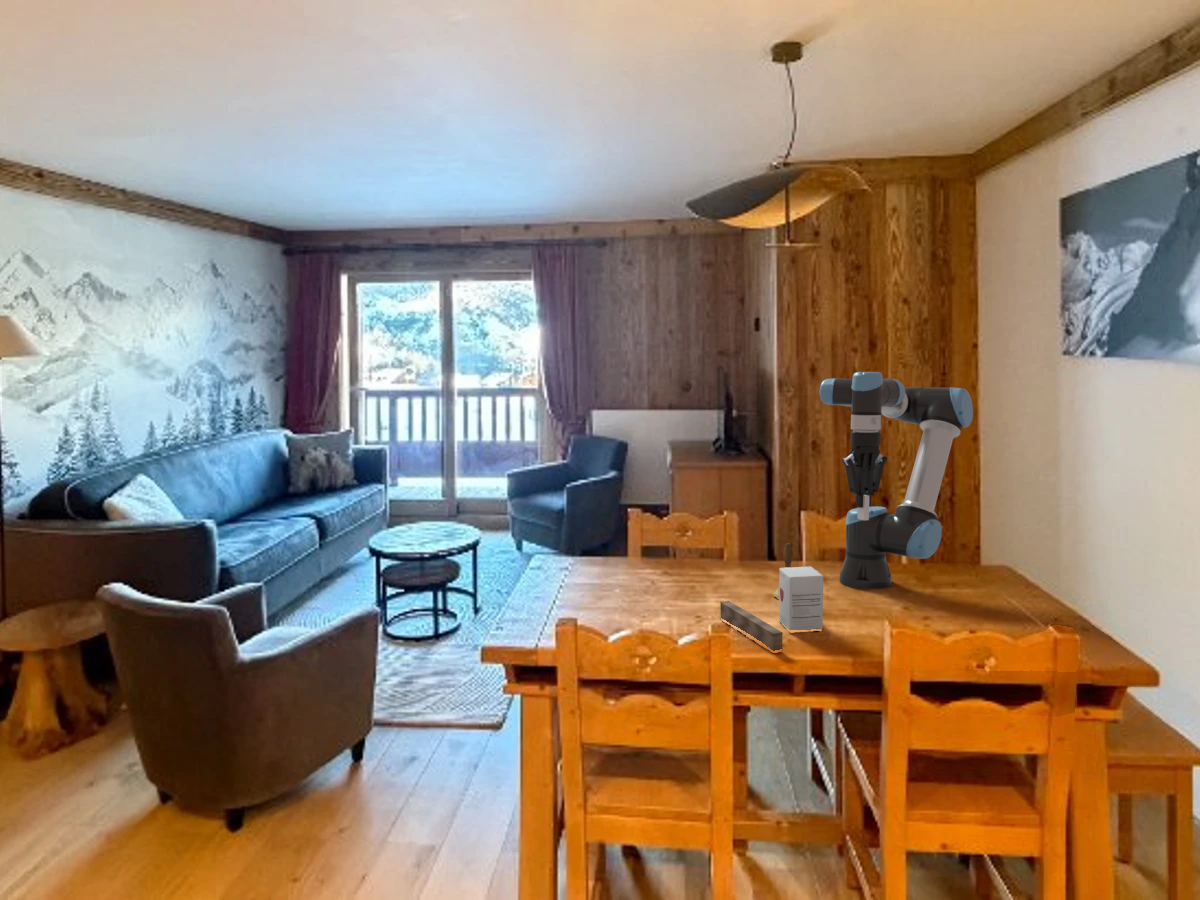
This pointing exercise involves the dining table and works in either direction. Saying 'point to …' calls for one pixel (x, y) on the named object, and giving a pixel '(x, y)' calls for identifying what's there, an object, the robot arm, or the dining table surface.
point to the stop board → (752, 625)
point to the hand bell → (786, 561)
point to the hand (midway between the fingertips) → (863, 519)
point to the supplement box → (801, 598)
